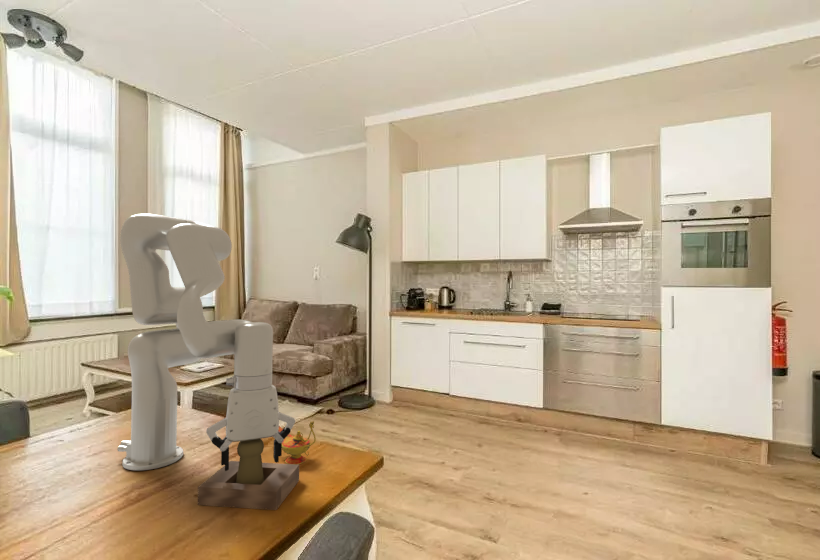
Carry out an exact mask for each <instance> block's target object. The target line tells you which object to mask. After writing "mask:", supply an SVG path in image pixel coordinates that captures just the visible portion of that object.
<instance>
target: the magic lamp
mask: <svg viewBox="0 0 820 560" xmlns="http://www.w3.org/2000/svg"><path fill="white" fill-rule="evenodd" d="M314 424H315V421H314V420H313V421H310V422H309V424H308V426H309V428H310V431H309V434H308V436H307V438H305V437H304V434H303V432H301V431H300V430H297V432H296V434H295V435H291V433H289V434H288V436H287V437H286V438H285V439H284V441H283V442H282V452H284V453H286V454H287V455H290V456H289V457H287V458H286V459H285V460H284V462H285V464H296V465H301V464H304V463H305V462H307V457H306V456H310V455H309V454H310V453H309V449H310V448H311V447H312V446H313V445H314V444H315V443H316V439H317V437H316V434H315V432H314V430H313V429H314V428H315V425H314ZM283 429H284V428H282V427H281V425H279V430H278V431H279V432H281V431H282V430H283ZM311 434H312V435H313V437H314V438H313V440H314V441H313V442H312V443H311V441H310V437H311ZM307 453H308V454H307ZM303 454H304V455H305V456H303Z"/></svg>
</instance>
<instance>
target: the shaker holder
mask: <svg viewBox="0 0 820 560" xmlns="http://www.w3.org/2000/svg"><path fill="white" fill-rule="evenodd" d="M238 467H239V460H229V470H228V471H225V465H222V467H221V468H220V469H219V470H217V471H216V472H214V473H213V474H212V475H211V476H210V477H208V478H207V479H206V480H205V481H203V482H202V483H201V484H200V485H198V486H197V505H198V506H209V507H210V506H211V507H226V508H236V509H237V508H239V509H240V508H242V509H252V510H253V509H255V510H267V511H268V510H269V511H277V510H278V508H280V506H281V505H282V504H283V502H284V501H285V500H286V498H287V497H288V496H289V495H290V493H291V492H292V491H293V489H294V488H295V487H296V485H297V484H298V483H299V481H300V464H297V465H296V464H287V463H279V462H277V463H276V462H262V467H263V475H264V482H263V483H262V484H261V485H255V484H239V483H236V480H237V473H238Z"/></svg>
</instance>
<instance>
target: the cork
mask: <svg viewBox="0 0 820 560" xmlns="http://www.w3.org/2000/svg"><path fill="white" fill-rule="evenodd" d="M262 439H263V438H262ZM262 439H254V440H247V441H239V442H238V444H237V448H236V450H237V451H236V452H237V455H238V456H239V460H238V461H239V467H238V473H237V480H236V483H239V484H255V485H261V484H262V483H263V482H264V475H263V467H262V463H263V460H262V454H263V452H264V448H265V444H264V441H263V440H262Z"/></svg>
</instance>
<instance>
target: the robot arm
mask: <svg viewBox="0 0 820 560" xmlns="http://www.w3.org/2000/svg"><path fill="white" fill-rule="evenodd" d="M119 235H120V237H119V238H120V239H119V242H120V243H119V244H120V248H121V252H122V255H123V258H124V260H125V263H126V264H125V265H126V267H127V269H128V270H127V271H128V276H129V278H128V279H129V291H130V304H131V311H132V317H133V319H134V321H135V322H136V323H137V324H140V325H144V326H157V325H161V326H162V325H172V324H174V325H175V328H171V329H170V328H168V329H167V328H165V329H156V330H148V331H145V332H144V331H143V332H141V333H139V334H137V335H135V336H134V337H132V339H131V340H130V341H129V343H128V346H127V357H128V362H129V367H130V374H131V375H130V376H131V415H130V417H131V418H130V419H131V421H130V422H131V425H130V429H131V430H130V440H129V439H128V440H127V439H123V440H122V441H121V442H120V445H119V446H118V447H117V449H116V450H117V452H123V453H124V452H125V453H126V454H125V455H126V456H125V457H124V458H123V459H122V467H123V468H124V469H125V470H130V471H148V470H153V469H154V470H155V469H159V468H160V469H161V468H163V467H166V466H169V465H172V464H174V463H176V462H177V461H179V460H180V459H181V458H182V457H183V456H184V449H183V447H181V446H178V445H177V436H178V435H177V432H178V429H177V427H178V421H177V420H178V384H177V381H176V379H175V377H174V376H173V375H172V374H171V372H170V370H169V368H173V367H179V366H183V365H190V364H193V363H194V364H195V363H196V362H199V361H200V360H202V359H211V358H218V357H223V356H230V355H234V359H233V362H234V363H233V364H234V365H233V370H234V371H233V375H232V377H231V376H230V377H226V381H225V382H226V384H225V385H226V386H232V387H233V388H231V389H230V390H229V395H228V399H227V404H226V405H227V407H226V415H225V417H224V418H223V419H221V420H219V421H217V422H216V423H214V424H212V425H211V426H209V427H207V428H206V434H207V436H208V438H209V439H210V441H211V444H213V445H214V446H215V447H217V448H218V449H219V450H220V457H221V458H220V463H221V464H220V466H222V467H223V466H225V471H228V470H229V462H230V447H229V446H230V445H231V444H232V443H237V442H238V443H239V442H240V441H247V440H254V439H266V438H273V439H274V440H273V461H274V463H279V460H280V459H279V457H282V452H283V450H282V442H283V441H284V439H285V438H286V437H287V436H288V434H291V431H292V429H293V427H294V426H295V423H296V419H295V417H293V416H290V415H287V414H285V413H282V412H279V398H278V392H277V387H276V386H275V385H273V359H274V358H273V353H274V352H273V350H274V347H273V345H274V344H273V343H274V341H273V340H274V329H273V326H272V325H271V324H270V323H268V322H263V321H262V322H261V321H256V322H252V321H249V320H246V319H238V318H237V319H224V320H223V319H222V320H213V321H207V320H206V317H205V316H204V309H203V308H204V307H203V302H202V299H201V298H202V297H204V296H206V295H208V294H211V293H212V292H214V291H215V290H217V289H218V288H220V287H221V286H222V285H223V284H224V282H225V279H226V277H225V274H224V273H225V272H224V271H223V269H222V266H221V265H220V262H222V261H224V260H226V259H227V258H228V257H230V255H231V252H232V247H233V246H232V241H231V237H230V236H229V234H228V233H227V231H225V230H224V229H222V228H221V227H216V226H213V225H210V224H206V223H203V222H199V221H195V220H190V219H186V218H185V219H184V218H179V217H178V218H177V217H173V216H167V215H162V214H153V213H137V214H133V215H130V216H128V217H127V219H125V221H124V222H123V223H122V226H121V229H120V233H119ZM157 250H159V251H160V250H161V251H169V252H170V255H171V256H172V258H173V259H172V260H173V261H174V264H175V266H176V269H177V271H178V273H179V276H180V278H181V281H182V283H183V287H182V286H177V287H175V286H172V285H171V281H170V280H171V279H170V271H169V268H168V265H167V264H166V262H165V261H164V259H163V258H162V257H161V255H159V254H158V253H157V252H156V251H157ZM280 421H281V422H284V423H286V424H285V426H284V427H283V428H282V429H283V430H282V431H281V432H279V431H278V430H279V426H280ZM224 428H225V436H224V438H221V437H220V436H219V435H218V434H217V432H218V431H220V430H221V429H224Z"/></svg>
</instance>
